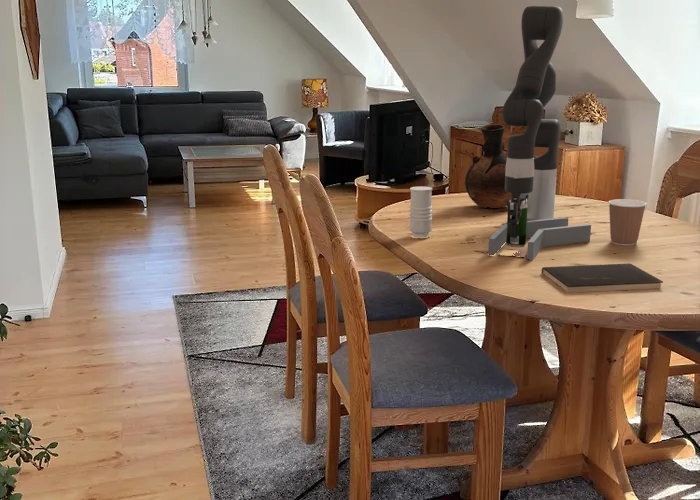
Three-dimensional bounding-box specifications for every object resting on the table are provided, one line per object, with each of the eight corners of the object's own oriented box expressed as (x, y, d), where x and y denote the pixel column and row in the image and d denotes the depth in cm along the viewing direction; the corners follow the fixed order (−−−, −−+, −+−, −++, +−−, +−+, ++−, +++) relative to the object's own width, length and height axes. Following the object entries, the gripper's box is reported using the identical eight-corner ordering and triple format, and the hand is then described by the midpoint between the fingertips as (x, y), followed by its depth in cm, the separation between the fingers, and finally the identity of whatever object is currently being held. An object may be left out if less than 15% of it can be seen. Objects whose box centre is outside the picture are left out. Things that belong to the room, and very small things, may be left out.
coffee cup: (641, 239, 209) (645, 200, 206) (643, 248, 200) (647, 206, 197) (604, 237, 213) (608, 198, 210) (605, 245, 203) (608, 204, 200)
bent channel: (461, 244, 207) (462, 227, 206) (564, 232, 219) (565, 217, 218) (505, 263, 186) (506, 245, 185) (615, 250, 198) (617, 232, 197)
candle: (434, 235, 218) (435, 187, 214) (427, 240, 212) (428, 190, 208) (413, 233, 221) (414, 185, 217) (405, 238, 215) (406, 189, 211)
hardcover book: (662, 290, 165) (663, 281, 164) (567, 295, 162) (567, 285, 162) (628, 271, 180) (629, 262, 180) (541, 275, 178) (541, 266, 177)
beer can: (525, 248, 194) (528, 205, 190) (505, 247, 195) (507, 204, 192) (526, 243, 199) (528, 201, 196) (506, 242, 200) (508, 200, 197)
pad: (504, 249, 200) (504, 248, 200) (529, 252, 197) (529, 250, 197) (498, 255, 194) (498, 254, 194) (524, 258, 191) (524, 256, 191)
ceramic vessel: (513, 202, 268) (517, 122, 260) (528, 211, 251) (533, 126, 243) (458, 203, 266) (461, 123, 258) (470, 213, 249) (473, 127, 241)
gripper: (512, 170, 199) (509, 228, 204) (498, 177, 187) (496, 239, 191) (539, 171, 196) (536, 231, 200) (527, 178, 184) (523, 242, 188)
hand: (516, 234), depth 196 cm, fingers closed on beer can, 5 cm apart
